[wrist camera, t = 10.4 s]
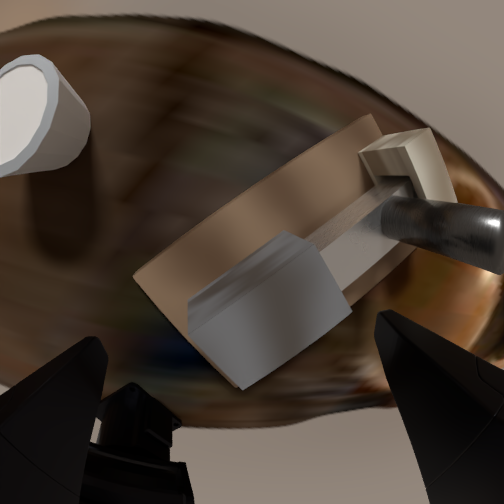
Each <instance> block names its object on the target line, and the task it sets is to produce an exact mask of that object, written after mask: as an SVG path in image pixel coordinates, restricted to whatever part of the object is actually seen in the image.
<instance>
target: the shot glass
mask: <svg viewBox="0 0 504 504" xmlns="http://www.w3.org/2000/svg"><path fill="white" fill-rule="evenodd" d="M90 129H91V124H90V113H89V111H88V109H87V107H86V105H85V103H84V102H83V101H82V100H81V98H80V97H79V96H78V95H77V93H76V92H75V91H74V90H73V88H72V87H71V86H70V85H69V83H68V82H67V81H66V79H65V78H64V77H63V76H62V74H61V73H60V72H59V71H58V69H57V68H56V67H55V65H54V64H53V63H52V62H51V61H49V60H47V59H46V58H44V57H42V56H41V55H26V56H21V57H19V58H17V59H15V60H13V61H12V62H10V63H8V64H6V65H5V66H4V67H3V68H2V69H1V70H0V177H6V176H12V175H18V174H25V173H32V172H40V171H48V170H55V169H58V168H61V167H64V166H67V165H68V164H69V163H70V162H72V161H73V160H74V159H75V158H77V157H78V155H79V154H80V152H81V151H82V149H83V148H84V146H85V145H86V143H87V139H88V136H89V132H90Z"/></svg>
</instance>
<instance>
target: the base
mask: <svg viewBox="0 0 504 504" xmlns="http://www.w3.org/2000/svg"><path fill="white" fill-rule="evenodd" d="M388 175H409V176H410V178H411V181H412V183H413V186H414V188H415V191H416V193H417V196H418V198H421V199H429V200H437V201H445V202H453V203H457V199H456V196H455V193H454V189H453V186H452V183H451V180H450V177H449V175H448V172H447V169H446V166H445V163H444V161H443V158H442V156H441V153H440V151H439V148H438V146H437V143H436V141H435V139H434V136H433V134H432V132H431V129H430V128H425V129H418V130H412V131H407V132H401V133H395V134H390V135H385V136H383V135H382V133H381V132H380V130H379V128H378V126H377V124H376V122H375V120H374V119H373V117H372V115H371V114H368V115H365V116H362V117H361V118H359V119H357V120H356V121H354V122H352V123H350V124H349V125H347V126H345V127H344V128H342V129H340V130H339V131H337V132H336V133H334V134H332V135H331V136H329V137H327V138H326V139H324V140H322V141H321V142H319V143H318V144H316V145H314V146H313V147H311V148H310V149H308V150H307V151H305V152H303V153H302V154H300V155H299V156H297V157H296V158H294V159H292V160H291V161H289V162H288V163H286V164H285V165H283V166H282V167H280V168H279V169H277V170H276V171H274V172H273V173H271V174H270V175H268V176H267V177H265V178H264V179H262V180H261V181H259V182H258V183H256V184H255V185H253V186H252V187H250V188H249V189H247V190H246V191H244V192H243V193H242V194H240V195H239V196H237V197H236V198H234V199H233V200H231V201H230V202H229V203H227V204H226V205H224V206H223V207H222V208H220V209H219V210H217V211H216V212H214V213H213V214H212V215H210V216H209V217H208V218H206V219H205V220H203V221H202V222H201V223H199V224H198V225H196V226H195V227H194V228H192V229H191V230H190V231H188V232H187V233H186V234H184V235H183V236H182V237H180V238H179V239H178V240H176V241H175V242H174V243H172V244H171V245H170V246H168V247H167V248H166V249H164V250H163V251H162V252H160V253H159V254H158V255H157V256H155V257H154V258H153V259H151V260H150V261H149V262H147V263H146V264H145V265H144V266H142V267H141V268H140V269H139V270H137V271H136V272H135V274H134V275H133V278H134V279H135V280H136V282H137V283H138V284H139V285H140V287H141V288H142V289H143V290H144V291H145V293H146V294H147V295H148V296H149V297H150V299H151V300H152V301H153V302H154V303H155V304H156V306H157V307H158V308H159V309H160V310H161V311H162V313H163V314H164V315H165V316H166V317H167V318H168V319H169V320H170V322H171V323H172V324H173V325H174V326H175V327H176V328H177V329H178V330H179V331H180V333H181V334H182V335H183V336H184V337H185V338H186V339H187V340H188V341H189V342H190V343H191V344H192V345H193V346H194V347H195V348H196V349H197V351H198V352H199V353H200V354H201V355H202V356H203V357H204V358H205V359H206V360H207V361H208V362H209V363H210V364H211V365H212V366H213V367H214V368H215V369H216V370H217V371H218V372H219V373H220V374H221V375H223V376H224V377H225V378H226V379H227V380H228V381H229V382H230V383H231V384H232V385H233V386H234V387H235V388H237V387H240V388H241V389H242V390H244V389H246V388H247V387H249V386H250V385H252V384H254V383H255V382H257V381H258V380H260V379H261V378H263V377H264V376H266V375H267V374H269V373H270V372H272V371H273V370H275V369H276V368H278V367H279V366H281V365H282V364H284V363H285V362H287V361H288V360H289V359H291V358H292V357H294V356H295V355H297V354H298V353H299V352H301V351H302V350H304V349H305V348H306V347H308V346H309V345H310V344H312V343H313V342H314V341H316V340H317V339H318V338H320V337H321V336H322V335H324V334H325V333H326V332H328V331H329V330H330V329H332V328H333V327H334V326H335V325H337V324H338V323H339V322H340V321H342V320H343V319H344V318H345V317H347V316H348V315H349V314H350V313H352V310H351V308H350V306H351V305H353V304H354V303H355V302H356V301H358V300H359V299H360V298H361V297H362V296H363V295H365V294H366V293H367V292H368V291H369V290H371V289H372V288H373V287H374V286H375V285H376V284H377V283H379V282H380V281H381V280H382V279H383V278H384V277H385V276H386V275H388V274H389V273H390V272H391V271H392V270H393V269H394V268H395V267H396V266H397V265H399V264H400V263H401V262H402V261H403V260H404V259H405V258H406V257H407V256H408V255H409V254H410V253H411V252H412V251H413V250H414V249H415V248H416V246H413V245H409V244H406V243H403V242H399V243H397V244H396V245H395V246H394V247H393V248H392V249H391V250H390V251H389V252H387V253H386V254H385V255H384V256H383V257H382V258H381V259H379V260H378V261H377V262H376V263H375V264H374V265H373V266H371V267H370V268H369V269H368V270H367V271H366V272H364V273H363V274H362V275H361V276H360V277H358V278H357V279H356V280H355V281H354V282H352V283H351V284H350V285H349V286H347V287H346V288H345V289H344V290H342V291H341V290H340V288H339V286H338V284H337V283H336V281H335V279H334V277H333V275H332V274H331V272H330V270H329V268H328V267H327V265H326V263H325V261H324V260H323V258H322V256H321V255H320V253H319V251H318V249H317V248H316V246H315V244H313V243H311V242H308V241H306V240H304V239H305V238H306V237H308V236H309V235H310V234H312V233H313V232H314V231H316V230H317V229H318V228H320V227H321V226H322V225H324V224H325V223H326V222H328V221H329V220H330V219H332V218H333V217H334V216H336V215H337V214H338V213H340V212H341V211H342V210H344V209H345V208H346V207H348V206H349V205H350V204H352V203H353V202H354V201H356V200H357V199H358V198H360V197H361V196H362V195H363V194H365V193H366V192H367V191H369V190H370V189H371V188H373V187H374V186H375V185H376V184H378V183H379V182H380V181H382V180H383V179H384V178H386V177H387V176H388Z"/></svg>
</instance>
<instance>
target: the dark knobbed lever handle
mask: <svg viewBox="0 0 504 504" xmlns="http://www.w3.org/2000/svg"><path fill="white" fill-rule="evenodd" d="M304 240H306V241H308V242H311V243H313V244H315V246H316V248H317V249H318V251H319V253H320V255H321V256H322V258H323V260H324V261H325V263H326V265H327V267H328V268H329V270H330V272H331V274H332V275H333V277H334V279H335V281H336V283H337V284H338V286H339V288H340V290H341V291H342V290H344V289H345V288H346V287H347V286H349V285H350V284H351V283H352V282H354V281H355V280H356V279H357V278H358V277H360V276H361V275H362V274H363V273H364V272H366V271H367V270H368V269H369V268H370V267H371V266H373V265H374V264H375V263H376V262H377V261H378V260H379V259H381V258H382V257H383V256H384V255H385V254H386V253H387V252H389V251H390V250H391V249H392V248H393V247H394V246H395V245H396V244H397V243H399V242H403V243H406V244H409V245H413V246H416V247H419V248H422V249H425V250H428V251H431V252H434V253H438V254H441V255H444V256H447V257H450V258H453V259H456V260H458V261H461V262H464V263H467V264H470V265H473V266H476V267H478V268H481V269H484V270H487V271H490V272H492V273H495V274H498V275H501V274H503V273H504V211H503V210H498V209H492V208H486V207H480V206H473V205H467V204H460V203H453V202H445V201H437V200H429V199H421V198H418V196H417V193H416V191H415V188H414V186H413V183H412V181H411V178H410V176H409V175H388V176H387V177H386V178H384V179H383V180H382V181H380V182H379V183H378V184H376V185H375V186H374V187H373V188H371V189H370V190H369V191H367V192H366V193H365V194H363V195H362V196H361V197H360V198H358V199H357V200H356V201H354V202H353V203H352V204H350V205H349V206H348V207H346V208H345V209H344V210H342V211H341V212H340V213H338V214H337V215H336V216H334V217H333V218H332V219H330V220H329V221H328V222H326V223H325V224H324V225H322V226H321V227H320V228H318V229H317V230H316V231H314V232H313V233H312V234H310V235H309V236H308V237H306V238H305V239H304Z"/></svg>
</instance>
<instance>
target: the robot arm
mask: <svg viewBox="0 0 504 504" xmlns="http://www.w3.org/2000/svg"><path fill="white" fill-rule="evenodd" d="M374 337H375V341H376V345H377V348H378V351H379V355H380V358H381V361H382V365H383V368H384V372H385V375H386V379H387V381H388V384H389V387H390V389H391V391H392V394H393V396H394V399H395V401H396V404H397V407H398V409H399V412H400V414H401V417H402V420H403V422H404V425H405V428H406V430H407V433H408V436H409V439H410V441H411V444H412V447H413V450H414V453H415V456H416V459H417V462H418V465H419V468H420V471H421V475H422V478H423V481H424V484H425V487H426V492H427V495H428V499H429V502H430V504H504V370H502V369H500V368H498V367H496V366H494V365H492V364H490V363H489V362H487V361H485V360H483V359H481V358H479V357H478V356H475V355H474V354H472V353H470V352H468V351H467V350H465V349H463V348H461V347H459V346H458V345H456V344H454V343H452V342H450V341H448V340H447V339H445V338H443V337H441V336H439V335H437V334H436V333H434V332H432V331H430V330H428V329H426V328H425V327H423V326H421V325H419V324H417V323H415V322H413V321H412V320H410V319H408V318H406V317H404V316H402V315H400V314H399V313H397V312H395V311H393V310H390V309H388V310H383V311H379V312H378V314H377V318H376V325H375V331H374ZM107 365H108V355H107V353H106V351H105V349H104V347H103V345H102V343H101V341H100V339H99V338H98V337H96V336H88V337H85V338H84V339H82V340H81V341H79V342H78V343H76V344H75V345H73V346H72V347H70V348H69V349H67V350H66V351H64V352H63V353H62V354H60V355H59V356H57V357H56V358H54V359H53V360H51V361H50V362H48V363H47V364H45V365H44V366H42V367H41V368H39V369H38V370H36V371H35V372H34V373H32V374H31V375H29V376H28V377H26V378H25V379H23V380H22V381H20V382H19V383H18V384H16V386H13V387H12V388H10V389H9V390H8V391H6V392H5V393H3V394H2V395H0V504H194V496H193V491H192V487H191V483H190V479H189V476H188V471H187V467H186V463H185V462H172V461H170V448H171V447H172V431H174V430H176V429H178V428H180V427H181V426H182V422H181V420H180V419H178V418H177V417H176V416H174V415H173V414H172V413H171V412H170V411H169V410H168V409H166V408H165V407H164V406H163V405H161V404H160V403H159V402H158V401H156V400H155V399H154V398H152V397H151V396H150V395H149V394H147V393H146V392H145V391H144V390H143V389H142V388H141V387H139V386H138V385H137V384H136V383H133V382H131V383H128V384H127V385H125V386H124V387H122V388H120V389H119V390H117V391H116V392H114V393H112V394H111V395H109V396H108V397H106V398H104V399H103V400H101V396H102V391H103V385H104V380H105V375H106V370H107ZM131 387H132V388H135V389H132V388H131ZM100 400H101V401H100ZM95 418H98V419H99V420H100V421H101V422H102V423H101V426H100V430H99V434H98V438H97V442H96V443H92V442H90V439H91V435H92V431H93V427H94V423H95ZM176 423H177V424H176Z"/></svg>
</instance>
